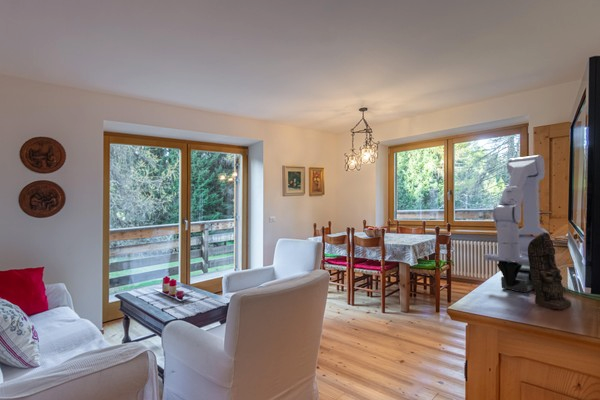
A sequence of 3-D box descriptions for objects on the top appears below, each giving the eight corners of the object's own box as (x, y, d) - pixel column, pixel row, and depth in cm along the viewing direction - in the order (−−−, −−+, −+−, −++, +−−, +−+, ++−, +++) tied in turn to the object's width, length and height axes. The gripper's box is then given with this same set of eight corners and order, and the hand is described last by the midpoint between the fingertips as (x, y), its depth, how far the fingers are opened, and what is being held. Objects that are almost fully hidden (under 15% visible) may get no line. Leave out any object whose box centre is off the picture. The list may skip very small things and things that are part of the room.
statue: (559, 311, 81) (555, 233, 82) (529, 304, 88) (525, 232, 88) (572, 306, 84) (568, 231, 85) (542, 299, 91) (538, 230, 91)
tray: (518, 282, 109) (517, 272, 109) (542, 286, 103) (541, 275, 103) (501, 287, 103) (501, 277, 103) (525, 292, 97) (525, 281, 97)
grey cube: (518, 282, 106) (517, 270, 106) (531, 285, 102) (531, 272, 102) (511, 284, 104) (511, 272, 104) (525, 287, 100) (524, 274, 100)
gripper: (478, 242, 104) (480, 283, 104) (528, 246, 91) (530, 293, 91) (490, 240, 107) (492, 279, 107) (539, 243, 95) (541, 288, 95)
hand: (510, 285), depth 99 cm, fingers closed, pressing on tray
